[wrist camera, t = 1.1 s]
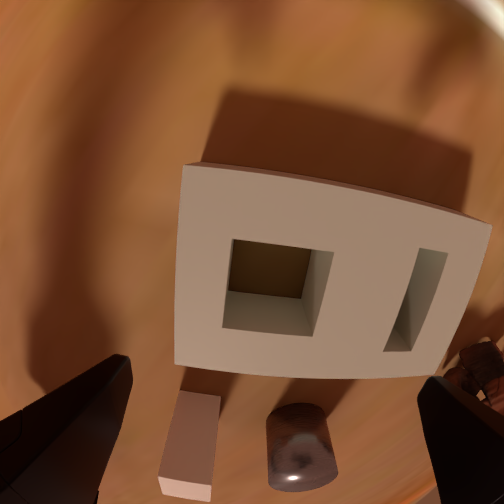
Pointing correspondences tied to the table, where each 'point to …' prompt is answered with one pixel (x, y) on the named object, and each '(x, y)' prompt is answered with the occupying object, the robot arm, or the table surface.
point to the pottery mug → (481, 374)
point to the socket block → (320, 276)
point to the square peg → (190, 447)
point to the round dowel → (299, 448)
